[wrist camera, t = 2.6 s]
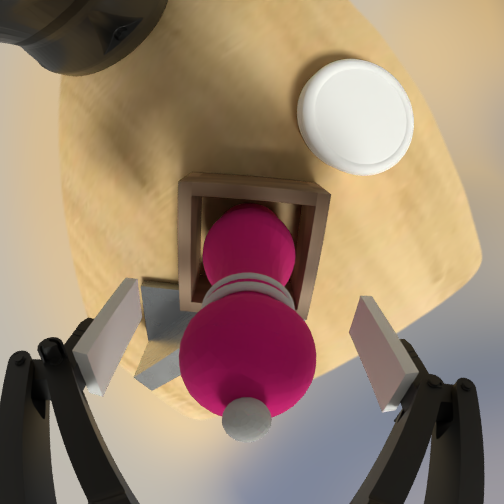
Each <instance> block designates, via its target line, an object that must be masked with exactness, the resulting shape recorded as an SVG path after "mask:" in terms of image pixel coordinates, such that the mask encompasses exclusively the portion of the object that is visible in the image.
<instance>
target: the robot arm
mask: <svg viewBox="0 0 504 504" xmlns="http://www.w3.org/2000/svg"><path fill="white" fill-rule="evenodd" d="M167 1H168V0H0V42H2V43H8V44H14V45H18V46H21V47H22V48H23V49H24V50H25V51H26V52H27V53H28V54H29V55H31V56H32V57H33V58H34V59H35V60H37V61H38V62H39V64H40V65H41V66H42V67H44V68H45V69H47V70H49V71H51V72H54V73H58V74H63V75H68V76H83V75H88V74H92V73H95V72H98V71H101V70H103V69H105V68H107V67H109V66H111V65H113V64H115V63H116V62H118V61H119V60H121V59H122V58H124V57H125V56H126V55H128V54H129V53H130V52H131V51H133V50H134V49H135V48H136V47H137V46H138V45H139V44H140V43H141V42H142V41H143V40H144V39H145V38H146V37H147V36H148V35H149V33H150V32H151V31H152V30H153V28H154V27H155V26H156V24H157V22H158V21H159V19H160V18H161V16H162V14H163V12H164V9H165V7H166V4H167ZM141 319H142V312H141V305H140V297H139V289H138V279H133V278H125V279H124V281H123V282H122V283H121V284H120V286H119V287H118V288H117V290H116V291H115V292H114V293H113V295H112V296H111V297H110V299H109V300H108V301H107V303H106V304H105V305H104V307H103V308H102V309H101V311H100V312H99V313H98V315H97V316H96V317H95V319H92V318H87V319H85V320H84V321H82V322H81V323H80V324H79V325H78V327H77V328H76V330H75V331H74V332H73V334H72V335H71V336H70V338H69V339H68V340H67V342H66V343H65V344H63V342H62V340H60V339H59V338H55V337H51V338H47V339H44V340H43V341H42V342H40V344H39V345H38V353H39V355H40V357H41V359H42V360H40V359H39V360H36V359H32V358H31V356H30V354H29V353H28V352H26V351H17V352H16V353H14V354H13V355H12V356H11V357H10V359H9V361H8V365H7V370H6V374H5V379H4V384H3V389H2V395H1V401H0V504H57V502H56V497H55V490H54V483H53V474H52V465H51V452H50V432H49V431H50V428H49V407H50V406H49V405H50V400H51V401H52V405H53V409H54V412H55V416H56V419H57V423H58V426H59V430H60V433H61V436H62V439H63V442H64V445H65V447H66V450H67V453H68V456H69V458H70V461H71V463H72V466H73V468H74V471H75V473H76V475H77V478H78V480H79V482H80V485H81V487H82V489H83V491H84V493H85V495H86V497H87V499H88V504H139V502H138V500H137V499H136V498H135V496H134V494H133V493H132V491H131V490H130V488H129V486H128V484H127V483H126V481H125V479H124V478H123V476H122V474H121V472H120V471H119V469H118V467H117V465H116V463H115V461H114V459H113V458H112V456H111V454H110V452H109V450H108V448H107V446H106V444H105V442H104V440H103V437H102V435H101V433H100V431H99V429H98V427H97V424H96V422H95V419H94V417H93V415H92V412H91V410H90V408H89V405H88V402H87V400H86V397H85V394H84V393H83V389H84V388H85V386H87V388H88V391H89V393H92V394H96V395H100V396H103V395H104V393H105V391H106V389H107V387H108V385H109V383H110V380H111V378H112V376H113V374H114V372H115V370H116V368H117V366H118V364H119V362H120V360H121V358H122V356H123V354H124V352H125V350H126V348H127V346H128V344H129V342H130V340H131V338H132V336H133V334H134V332H135V330H136V328H137V327H138V325H139V323H140V321H141ZM349 333H350V336H351V338H352V340H353V342H354V345H355V347H356V349H357V352H358V354H359V356H360V359H361V361H362V363H363V366H364V368H365V371H366V373H367V375H368V378H369V380H370V383H371V385H372V388H373V390H374V393H375V395H376V398H377V400H378V403H379V405H380V408H381V411H382V412H388V411H394V410H396V408H397V406H398V405H399V404H400V403H401V405H402V408H403V409H402V410H401V412H400V413H399V414H398V416H397V417H396V419H395V420H394V422H395V425H394V427H393V429H392V431H391V433H390V435H389V437H388V439H387V441H386V443H385V445H384V447H383V449H382V451H381V452H380V454H379V456H378V458H377V460H376V462H375V463H374V465H373V467H372V469H371V470H370V472H369V474H368V476H367V477H366V479H365V481H364V482H363V484H362V485H361V487H360V489H359V490H358V492H357V493H356V495H355V496H354V498H353V499H352V501H351V502H350V504H404V502H405V500H406V498H407V496H408V493H409V491H410V489H411V487H412V485H413V482H414V480H415V478H416V475H417V473H418V471H419V468H420V465H421V463H422V460H423V458H424V455H425V452H426V449H427V446H428V444H429V441H430V438H431V435H432V438H431V453H430V464H429V473H428V481H427V489H426V495H425V501H424V504H483V502H484V450H483V436H482V426H481V418H480V410H479V403H478V397H477V391H476V387H475V385H474V384H473V382H472V381H471V380H469V379H467V378H460V379H458V380H457V382H456V383H455V384H454V385H452V384H451V385H450V384H444V383H443V381H442V380H441V379H440V378H439V377H437V376H436V375H433V374H429V373H428V371H427V370H426V368H425V366H424V365H423V363H422V361H421V360H420V358H419V357H418V355H417V354H416V352H415V350H414V349H413V347H412V345H411V344H410V343H408V342H407V341H406V340H405V339H399V338H398V337H397V335H396V333H395V331H394V330H393V328H392V327H391V325H390V323H389V322H388V320H387V319H386V317H385V316H384V314H383V313H382V311H381V310H380V308H379V307H378V305H377V303H376V302H375V300H374V299H373V297H372V296H360V299H359V303H358V306H357V309H356V312H355V315H354V319H353V322H352V325H351V328H350V331H349Z"/></svg>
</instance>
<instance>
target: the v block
mask: <svg viewBox="0 0 504 504" xmlns="http://www.w3.org/2000/svg"><path fill="white" fill-rule="evenodd" d="M141 291H142V300H143V307H144V315H145V322H146V328H147V335H148V341H149V342H148V344H147V346H146V349H145V351H144V354H143V356H142V358H141V361H140V363H139V366H138V368H137V371H136V373H135V376H134V378H135V379H136V380H138V381H139V382H140V383H142V384H143V385H145V386H146V387H147V388H149V389H150V390H154V389H156V388H158V387H160V386H162V385H163V384H165V383H167V382H169V381H171V380H172V379H174V378H176V377H178V376H180V375H181V373H180V367H179V350H180V342H181V340H182V337H183V334H184V332H185V330H186V328H187V326H188V324H189V322H190V320H191V319H192V318H193V317H194V316H195V315H196V314H197V313H198V312H188V311H180V299H179V284H174V283H164V282H155V281H146V280H144V282H143V284H142V285H141ZM304 321H305V320H304Z"/></svg>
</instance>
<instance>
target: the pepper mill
mask: <svg viewBox="0 0 504 504" xmlns="http://www.w3.org/2000/svg"><path fill="white" fill-rule="evenodd" d="M294 264H295V247H294V242H293V239H292V236H291V234H290V232H289V230H288V229H287V227H286V226H285V225H284V223H283V222H282V221H281V220H279V219H278V217H277V216H276V215H275V214H274V213H273V212H272V211H271V210H270V209H268V208H267V207H265V206H262V205H259V204H255V203H243V204H239V205H236V206H234V207H232V208H230V209H229V210H228V211H226V212H225V213H224V214H223V215H222V216H221V218H220V219H218V220H217V221H216V222H215V223H214V224H213V226H212V227H211V228H210V230H209V231H208V234H207V236H206V238H205V242H204V247H203V265H204V269H205V272H206V275H207V278H208V280H209V282H210V283H211V285H212V287H211V288H210V289H209V290H208V292H207V293H206V295H205V297H204V299H203V302H202V308H201V310H200V311H199V312H198V313H197V314H196V315H195V316H194V317H193V318H192V319H191V320H190V322H189V324H188V326H187V328H186V330H185V332H184V334H183V337H182V340H181V342H180V350H179V367H180V373H181V377H182V379H183V381H184V384H185V386H186V388H187V389H188V391H189V393H190V395H191V396H192V397H193V398H194V399H195V400H196V401H197V402H198V403H199V404H200V405H201V406H203V407H204V408H206V409H207V410H209V411H211V412H212V413H214V414H217V415H219V416H222V425H223V428H224V429H225V431H226V433H227V434H228V435H229V436H230V437H232V438H233V439H235V440H237V441H241V442H254V441H257V440H259V439H261V438H262V437H263V436H265V434H266V433H267V432H268V431H269V428H270V426H271V420H272V419H271V418H272V417H274V416H277V415H279V414H281V413H283V412H285V411H287V410H288V409H289V408H291V407H293V406H294V405H295V404H296V403H297V402H298V401H299V400H300V399H301V398H302V397H303V396H304V394H305V393H306V391H307V389H308V388H309V386H310V384H311V383H312V380H313V377H314V373H315V368H316V349H315V343H314V340H313V337H312V334H311V331H310V329H309V328H308V326H307V324H306V323H305V321H304V320H303V319H302V318H301V316H300V315H299V314H298V313H297V312H296V311H295V307H294V302H293V299H292V297H291V295H290V293H289V292H288V290H287V289H286V288H285V287H284V286H285V285H286V283H287V282H288V280H289V278H290V276H291V273H292V271H293V268H294Z"/></svg>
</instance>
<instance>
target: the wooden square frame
mask: <svg viewBox="0 0 504 504" xmlns="http://www.w3.org/2000/svg"><path fill="white" fill-rule="evenodd" d="M202 196H206V197H222V198H235V199H248V200H260V201H271V202H281V203H291V204H301V205H302V210H301V217H300V224H299V231H298V238H297V244H296V251H295V264H294V268H293V271H292V276H291V281H290V282H289V281H288V282H287V283H286V285H285V286H284V287H285V288H286V289H287V290H288V292H289V293H290V295H291V297H292V299H293V302H294V307H295V311H296V312H297V313H298V314H299V315H300V316H301V318H302V319H303V320H307V316H308V312H309V307H310V303H311V298H312V294H313V289H314V285H315V280H316V275H317V270H318V265H319V260H320V255H321V250H322V245H323V239H324V234H325V228H326V222H327V216H328V210H329V204H330V198H331V194H330V193H328V192H327V191H326V190H325V189H323V188H322V187H321V186H320V185H318V184H317V183H313V182H304V181H296V180H287V179H278V178H267V177H256V176H244V175H231V174H216V173H197V172H192V173H190V174H189V175H187V176H186V177H184V178H183V179H181V180H180V181H178V275H179V299H180V311H188V312H199V311H200V310H201V308H202V302H203V299H204V297H205V295H206V293H207V292H208V290H209V289H210V288H211V287H212V285H211V283H210V282H209V280H208V278H207V275H200V248H201V211H202Z"/></svg>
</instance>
